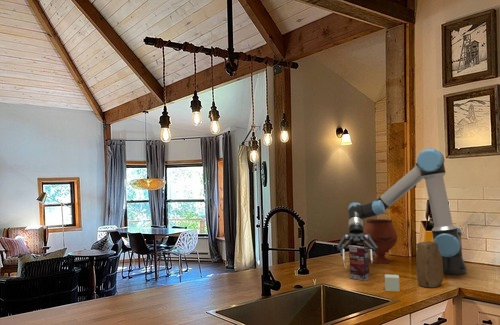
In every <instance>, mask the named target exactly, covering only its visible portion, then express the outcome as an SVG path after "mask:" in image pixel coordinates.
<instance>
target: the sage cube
mask: <svg viewBox="0 0 500 325" xmlns="http://www.w3.org/2000/svg"><path fill="white" fill-rule="evenodd" d="M384 286H385V288H384V290H385V292H386V291H387V292H401V291H400V276H399V274H387V273H385V274H384Z"/></svg>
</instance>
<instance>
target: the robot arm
mask: <svg viewBox="0 0 500 325" xmlns="http://www.w3.org/2000/svg"><path fill="white" fill-rule="evenodd" d="M446 173H447V172H446V167H445V157H444V155H443V153H442V152H441V151H440V150H437V149H436V148H425V149H423V150H421V151H420V152H419V154H418V155H417V158H416V162H415V164H414V167H412V169H411V170H410V171H408V172H407V173H406V174H405V175H404V176H402V177H401V178H400V179H398V181H396V182H395V183H394V184H393V185H392V186H391V187H390V188H389V189H387V190H386V191H385V192H384V193H383V194H381V195H380V196H379V197H378V198H376V200H374V201H370V202H367V203H365V204H361V203H359V202H351V203H350V204H349V205H348V207H347V208H348V210H347V213H348V214H347V215H348V234H346V233H345V232H344V233H343V234H342V237H341V239H340V241H339V242H338V244H337V245H336V250H337V251H340V257H342V263H345V259H346V258H345V249H347V248H349V247H350V245H351V244H352V243H353V244H360V243H361V244H362V245H364V247H369V248H368V250H369V255H370V256H369V258H370V264H373V263H374V262H373V261H374V259H373V258H374V257H375V255H376V254H375V251H377V250H378V247H377V246H376V244H375V243H374V241H373V240H372V239H371V237H370V234H368V235H364V219H368V218H371V217H376V216H380V215H384V214H385V212H386V210H388V208H389V207H391V206H392V205H394V204H395V203H396V202H397V201H398V200H400V199H401V198H402V197H403V196H404V195H406V193H408V192H409V191H410V190H411V189H413V188H414V187H415V186H416V185H418V183H420V182H421V181H422V180H424V181H425V185H426V186H425V187H426V192H427V196H428V202H429V207H430V213H431V218H432V221H433V228H432V229H431V233H432V239H433V241H432V242H436V243H437V244H438V250H439V251H440V254H441V256H442V260H443V275H454V276H455V275H465V274H467V272H468V270H467V266H466V263H465V261H464V258H463V247H462V246H463V244H462V230H461V228H460V227H459V228H458V227H457V226H456V225H454V224H453V220H452V214H451V209H450V203H449V200H448V195H447V189H446V184H445V179H444V176H445V175H446ZM364 238H366V239H368V241H369V242H370V244H371V245H372V246H371V245H370V244H369V243H368V242H367V241H366V240H365V239H364ZM347 239H348V240H347ZM346 240H347V241H346Z"/></svg>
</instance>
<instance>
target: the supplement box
mask: <svg viewBox="0 0 500 325" xmlns="http://www.w3.org/2000/svg"><path fill="white" fill-rule="evenodd" d="M368 248H369V247H366V246H360V245H351V246H350V245H349V246H348V249H349V254H348V255H349V278H350V279H354V280H360V281H368V280H370V256H369V255H370V250H369V249H368Z"/></svg>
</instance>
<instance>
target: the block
mask: <svg viewBox="0 0 500 325" xmlns="http://www.w3.org/2000/svg"><path fill="white" fill-rule="evenodd" d="M415 253H416V257H415V260H416V279H417V283H418V285H420V286H421V287H424V288H428V289H429V288H432V289H433V288H437V287H440V286H441V285H442V283H443V281H444V274H443V260H442V256H441V254H440V251H439V250H438V244H437V243H436V242H433V241H429V240H428V241H420V242H418V243H416V252H415Z"/></svg>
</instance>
